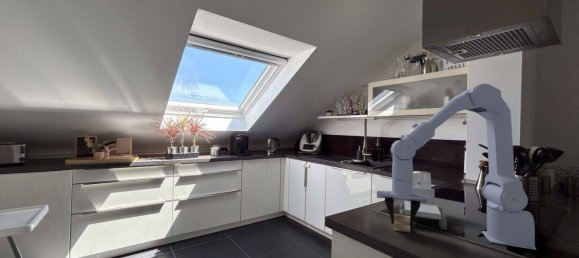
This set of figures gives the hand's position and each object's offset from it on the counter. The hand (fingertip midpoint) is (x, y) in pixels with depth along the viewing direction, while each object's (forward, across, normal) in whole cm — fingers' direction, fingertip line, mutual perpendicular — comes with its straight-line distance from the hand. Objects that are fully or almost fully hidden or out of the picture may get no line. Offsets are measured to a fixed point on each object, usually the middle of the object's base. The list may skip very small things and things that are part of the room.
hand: (402, 224), depth 74 cm
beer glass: (+2, -6, -24) cm, 25 cm away
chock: (+2, 0, -1) cm, 2 cm away
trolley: (+2, -6, -12) cm, 13 cm away
